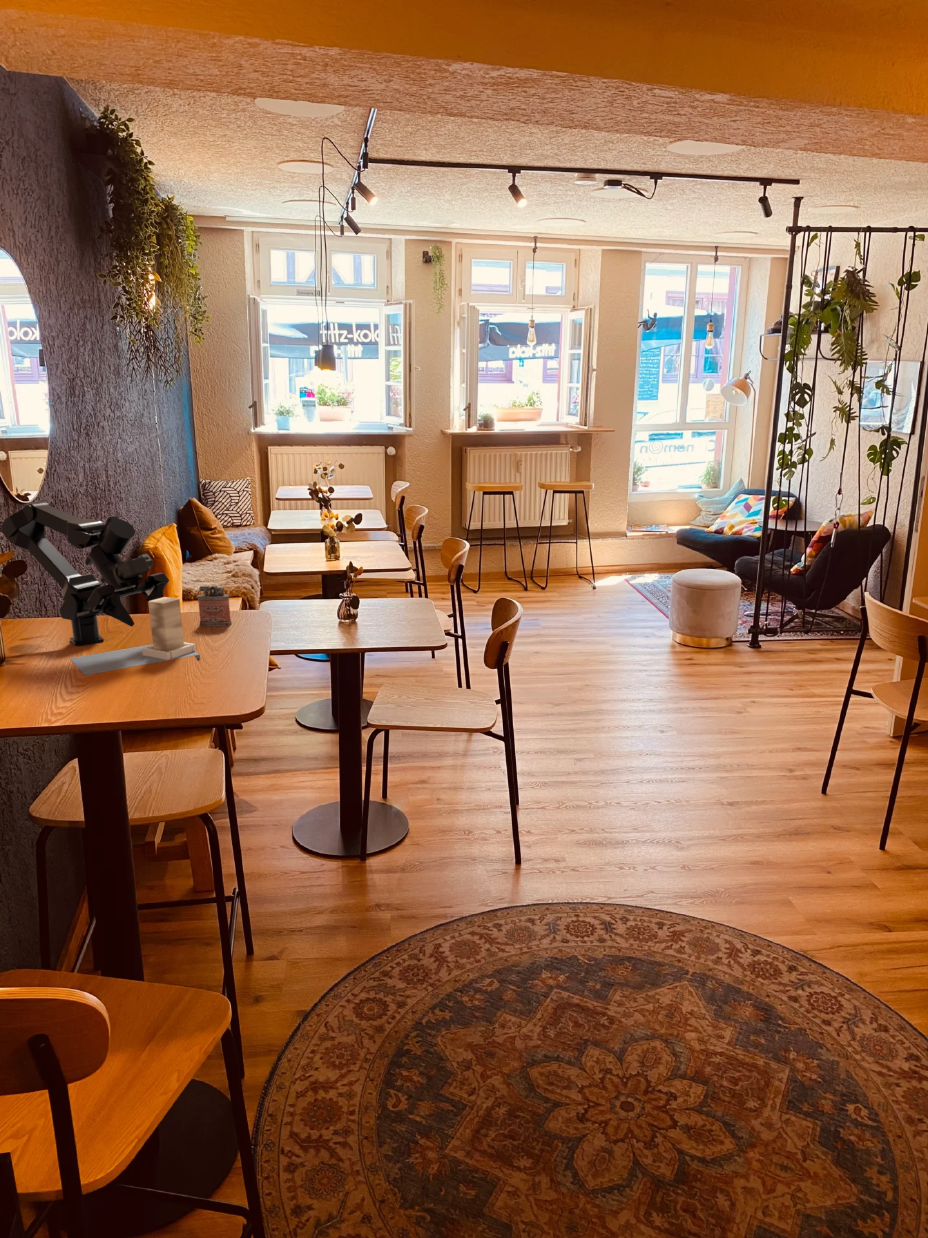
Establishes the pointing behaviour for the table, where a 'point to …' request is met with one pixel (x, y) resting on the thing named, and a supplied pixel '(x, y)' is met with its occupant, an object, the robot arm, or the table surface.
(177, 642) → the birch pillar
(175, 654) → the socket
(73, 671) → the table surface
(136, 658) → the plate
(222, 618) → the lighter
